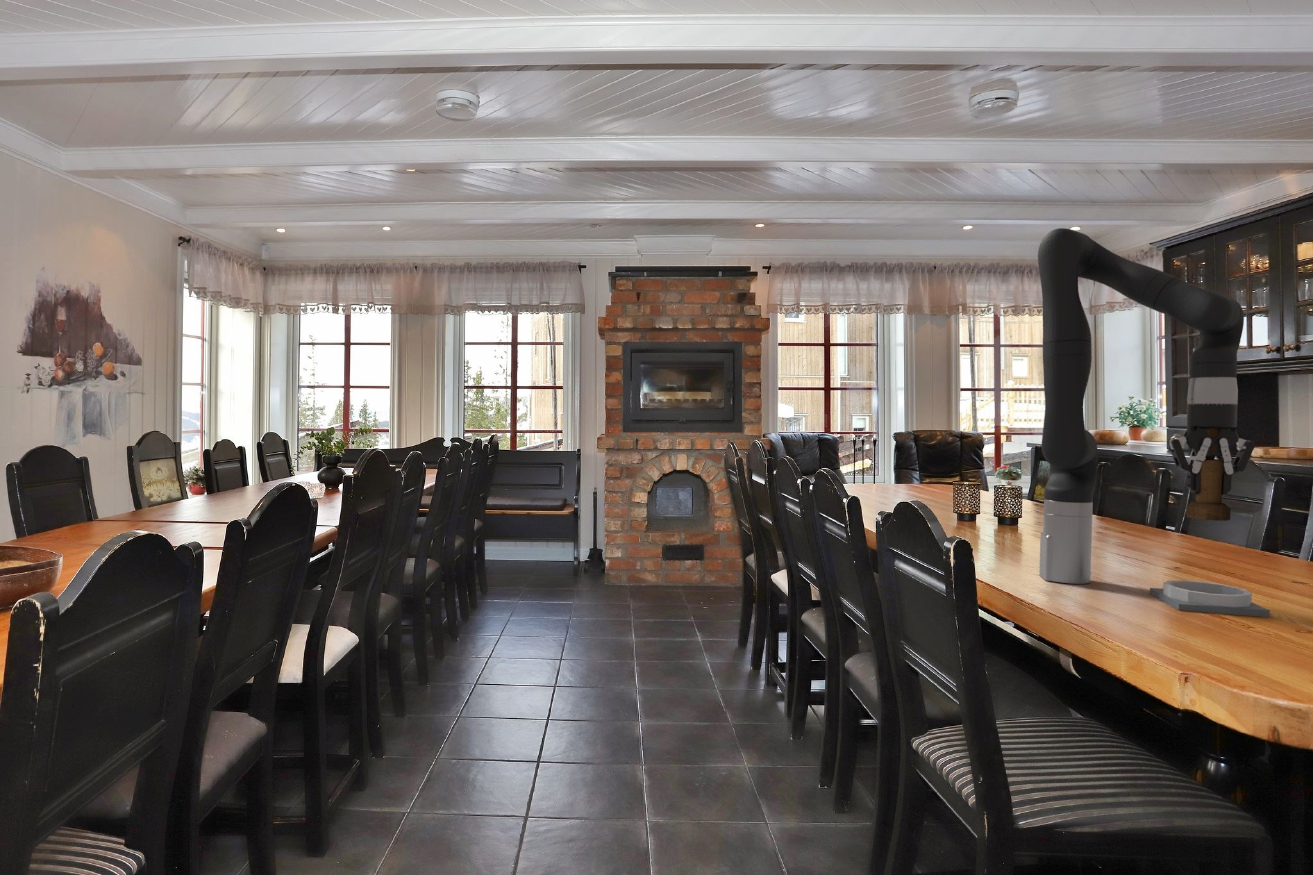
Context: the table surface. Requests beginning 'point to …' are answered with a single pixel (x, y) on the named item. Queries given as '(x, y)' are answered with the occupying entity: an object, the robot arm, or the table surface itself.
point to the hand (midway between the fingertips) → (1208, 493)
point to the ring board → (1210, 608)
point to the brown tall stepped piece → (1210, 489)
